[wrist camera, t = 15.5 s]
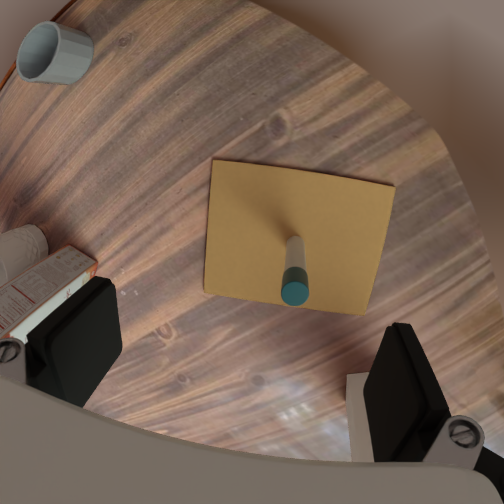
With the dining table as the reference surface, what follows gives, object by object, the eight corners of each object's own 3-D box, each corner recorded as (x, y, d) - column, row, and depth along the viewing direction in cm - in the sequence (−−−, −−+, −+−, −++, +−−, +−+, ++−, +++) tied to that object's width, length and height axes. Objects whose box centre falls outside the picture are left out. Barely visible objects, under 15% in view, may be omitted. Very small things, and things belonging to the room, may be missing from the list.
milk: (346, 373, 42) (362, 513, 21) (388, 368, 41) (422, 502, 20) (345, 402, 44) (355, 532, 23) (383, 398, 43) (408, 523, 22)
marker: (287, 233, 36) (282, 279, 25) (307, 236, 36) (311, 283, 24) (284, 252, 37) (278, 304, 25) (303, 254, 36) (306, 308, 25)
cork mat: (213, 159, 34) (212, 159, 34) (394, 186, 33) (395, 187, 32) (204, 291, 40) (203, 292, 40) (363, 314, 38) (364, 316, 38)
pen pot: (55, 37, 30) (22, 29, 24) (98, 27, 30) (66, 14, 23) (47, 88, 33) (12, 86, 27) (89, 81, 32) (55, 76, 26)
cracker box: (84, 332, 46) (7, 418, 26) (56, 312, 45) (-25, 389, 26) (102, 262, 41) (-4, 347, 21) (69, 241, 40) (-41, 311, 21)
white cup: (56, 237, 40) (10, 262, 31) (46, 278, 43) (6, 307, 34) (23, 210, 40) (-24, 230, 31) (15, 251, 43) (-27, 275, 33)
